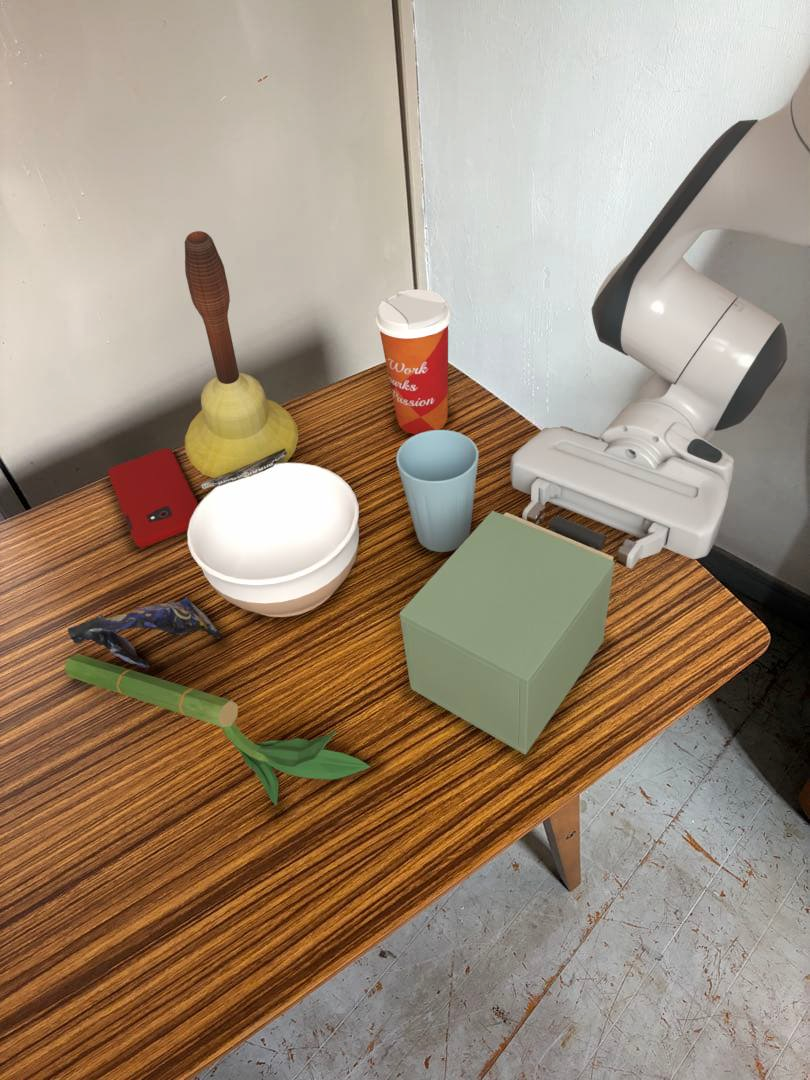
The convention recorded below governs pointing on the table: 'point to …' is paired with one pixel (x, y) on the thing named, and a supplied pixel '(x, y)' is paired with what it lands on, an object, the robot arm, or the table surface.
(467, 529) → the cup
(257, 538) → the bowl
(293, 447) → the handbell
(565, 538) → the beige drawer
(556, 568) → the cabinet
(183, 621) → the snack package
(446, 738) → the table surface
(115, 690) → the decorative plant
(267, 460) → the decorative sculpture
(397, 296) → the coffee cup
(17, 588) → the table surface
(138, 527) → the cell phone
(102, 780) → the table surface
